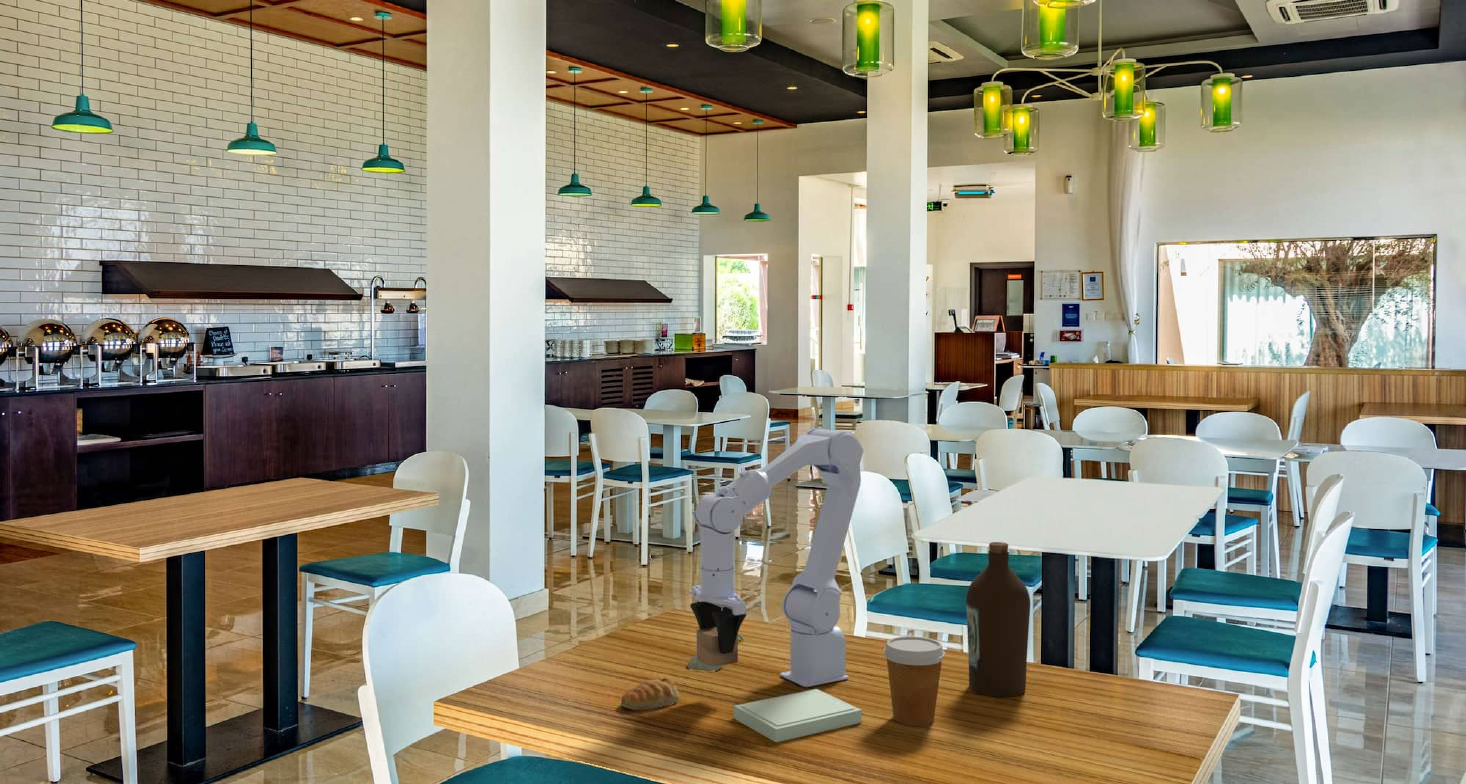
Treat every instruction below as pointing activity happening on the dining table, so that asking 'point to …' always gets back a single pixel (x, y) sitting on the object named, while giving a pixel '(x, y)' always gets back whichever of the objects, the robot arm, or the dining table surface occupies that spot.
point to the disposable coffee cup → (914, 678)
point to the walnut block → (713, 649)
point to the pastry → (651, 695)
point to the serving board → (797, 715)
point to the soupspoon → (700, 665)
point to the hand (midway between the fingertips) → (718, 648)
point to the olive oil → (997, 627)
